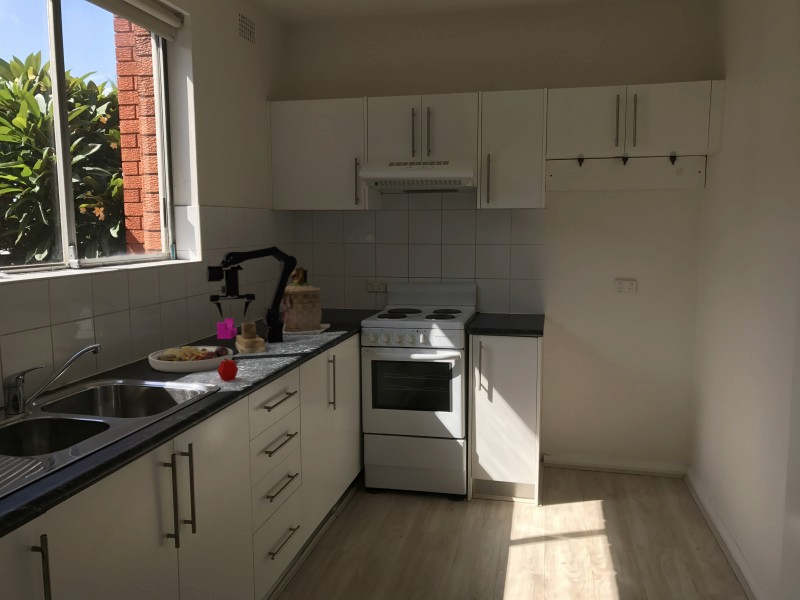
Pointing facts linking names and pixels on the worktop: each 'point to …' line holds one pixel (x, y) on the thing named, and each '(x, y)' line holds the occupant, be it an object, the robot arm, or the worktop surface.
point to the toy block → (226, 329)
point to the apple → (227, 370)
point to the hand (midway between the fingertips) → (233, 317)
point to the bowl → (189, 358)
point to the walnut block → (248, 330)
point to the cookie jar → (302, 306)
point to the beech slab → (250, 350)
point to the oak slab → (250, 342)
